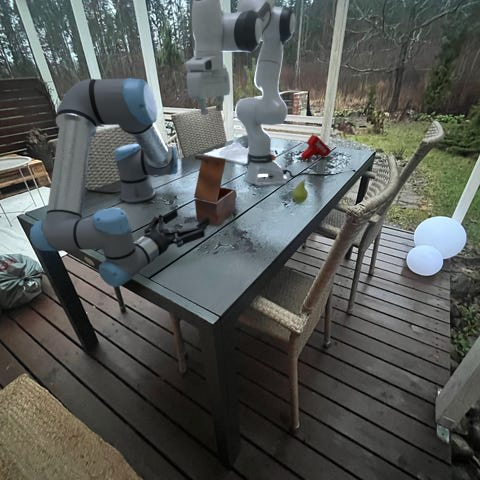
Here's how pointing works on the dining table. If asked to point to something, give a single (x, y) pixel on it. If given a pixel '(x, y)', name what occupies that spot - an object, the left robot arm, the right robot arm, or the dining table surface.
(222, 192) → the chest
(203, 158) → the lid
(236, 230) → the dining table surface
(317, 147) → the toy gun
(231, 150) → the relief map
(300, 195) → the fruit
